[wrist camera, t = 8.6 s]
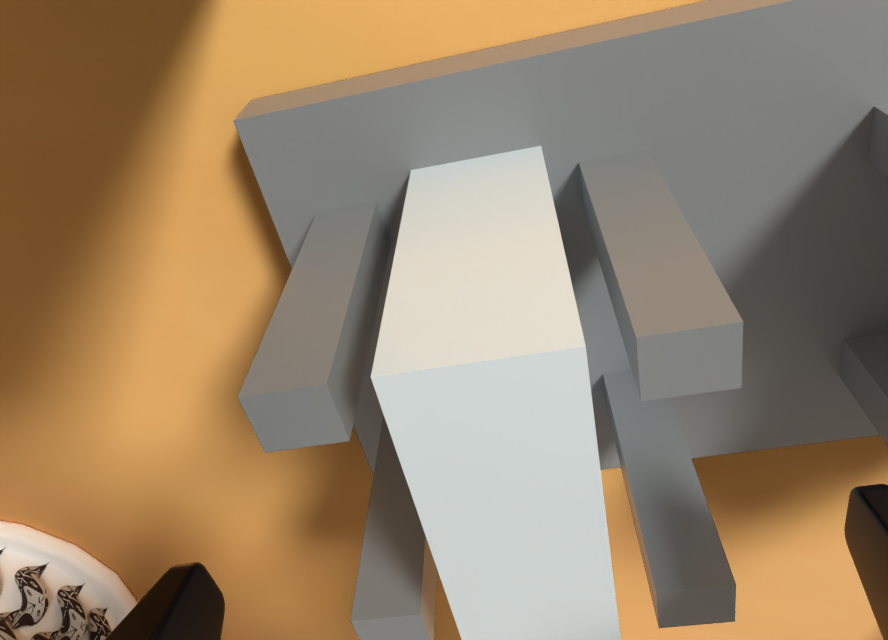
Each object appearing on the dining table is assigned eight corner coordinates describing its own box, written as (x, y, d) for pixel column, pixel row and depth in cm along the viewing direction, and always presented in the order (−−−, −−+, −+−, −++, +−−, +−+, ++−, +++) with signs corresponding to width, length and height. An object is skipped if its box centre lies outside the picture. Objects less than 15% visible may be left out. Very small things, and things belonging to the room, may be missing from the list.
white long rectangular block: (580, 428, 16) (626, 685, 11) (479, 441, 17) (480, 696, 12) (540, 146, 12) (585, 347, 7) (410, 169, 13) (371, 376, 8)
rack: (1132, 364, 16) (1470, 631, 11) (386, 462, 19) (350, 714, 13) (1349, -140, 11) (2272, -125, 5) (251, 100, 13) (96, 276, 8)
